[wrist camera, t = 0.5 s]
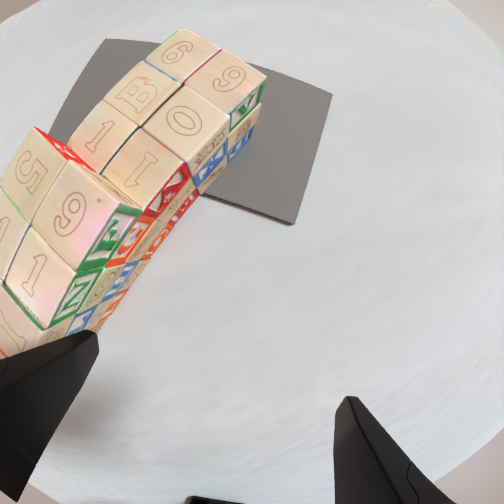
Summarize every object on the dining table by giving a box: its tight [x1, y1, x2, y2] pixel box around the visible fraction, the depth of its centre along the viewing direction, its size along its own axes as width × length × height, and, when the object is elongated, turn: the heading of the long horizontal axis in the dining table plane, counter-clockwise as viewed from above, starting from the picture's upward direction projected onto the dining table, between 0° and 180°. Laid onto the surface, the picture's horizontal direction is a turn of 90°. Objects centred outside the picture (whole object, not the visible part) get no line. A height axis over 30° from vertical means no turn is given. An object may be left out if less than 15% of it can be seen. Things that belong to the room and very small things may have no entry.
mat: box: [48, 39, 333, 224], centre depth 21 cm, size 13×24×1 cm, turn 71°
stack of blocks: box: [0, 28, 267, 359], centre depth 14 cm, size 21×6×12 cm, turn 141°
